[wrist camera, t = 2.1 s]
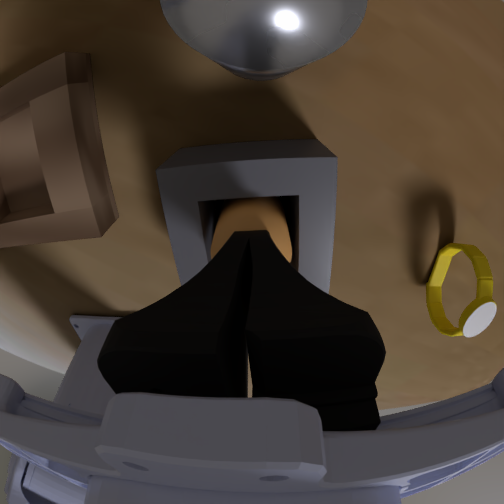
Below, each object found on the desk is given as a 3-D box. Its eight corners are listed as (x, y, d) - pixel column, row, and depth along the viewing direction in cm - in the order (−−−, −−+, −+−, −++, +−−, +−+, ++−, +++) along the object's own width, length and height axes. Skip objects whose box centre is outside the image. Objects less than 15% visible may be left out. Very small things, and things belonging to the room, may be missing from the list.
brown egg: (285, 242, 15) (291, 284, 12) (224, 246, 15) (216, 287, 12) (284, 184, 14) (291, 214, 11) (216, 188, 14) (204, 220, 11)
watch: (437, 298, 19) (470, 354, 14) (410, 298, 19) (441, 359, 14) (466, 231, 16) (515, 281, 11) (438, 227, 16) (488, 281, 11)
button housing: (315, 256, 17) (327, 300, 14) (199, 262, 18) (187, 306, 14) (317, 139, 14) (337, 157, 10) (179, 148, 14) (155, 169, 11)
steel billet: (313, 80, 12) (374, 73, 5) (214, 85, 12) (165, 81, 6) (306, -5, 10) (352, -79, 3) (207, 0, 10) (158, -72, 3)
